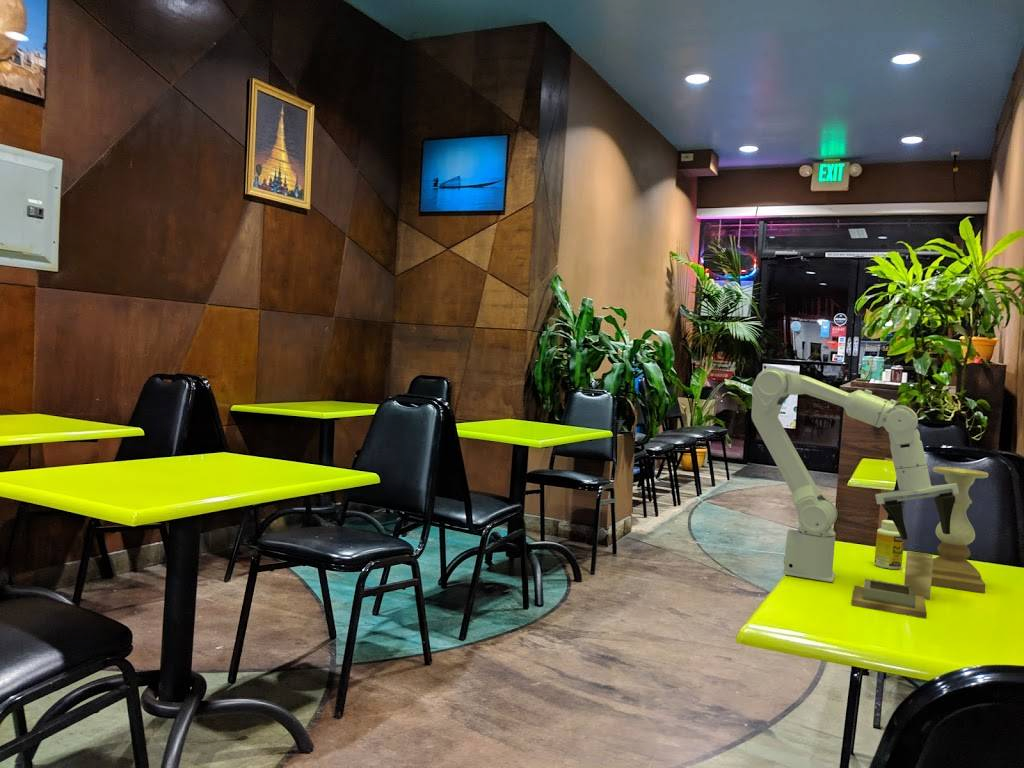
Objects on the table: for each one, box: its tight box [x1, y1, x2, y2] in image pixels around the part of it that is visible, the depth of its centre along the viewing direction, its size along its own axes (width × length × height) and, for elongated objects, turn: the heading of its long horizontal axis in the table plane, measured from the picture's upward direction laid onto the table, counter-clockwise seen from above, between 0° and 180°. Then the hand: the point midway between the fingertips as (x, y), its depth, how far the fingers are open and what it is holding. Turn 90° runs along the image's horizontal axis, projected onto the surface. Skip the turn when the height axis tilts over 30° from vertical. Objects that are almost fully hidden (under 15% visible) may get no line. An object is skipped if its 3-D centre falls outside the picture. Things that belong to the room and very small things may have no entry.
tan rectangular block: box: [903, 550, 934, 601], centre depth 153 cm, size 4×4×8 cm
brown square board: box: [851, 585, 928, 619], centre depth 145 cm, size 12×12×1 cm
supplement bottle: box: [874, 519, 905, 570], centre depth 177 cm, size 6×6×10 cm
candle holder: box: [931, 466, 989, 594], centre depth 165 cm, size 11×11×24 cm
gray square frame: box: [863, 578, 916, 608], centre depth 145 cm, size 8×8×2 cm
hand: (925, 536), depth 153 cm, fingers open, 7 cm apart
